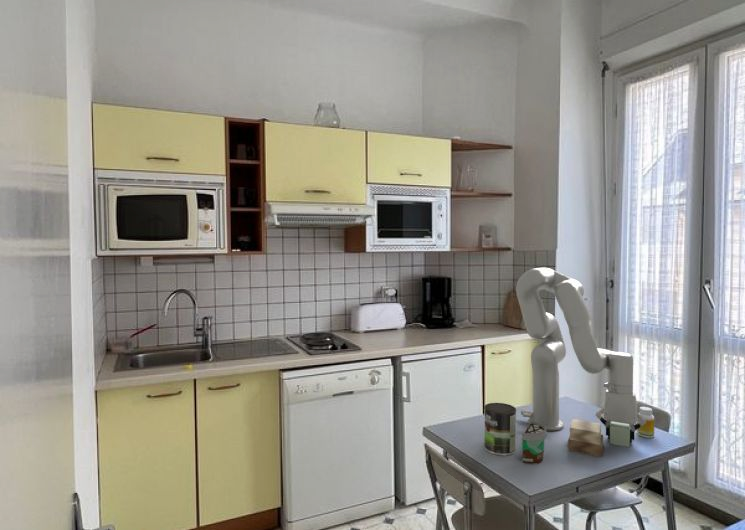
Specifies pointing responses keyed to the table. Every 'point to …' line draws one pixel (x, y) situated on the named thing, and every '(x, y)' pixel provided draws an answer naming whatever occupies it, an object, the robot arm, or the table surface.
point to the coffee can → (500, 429)
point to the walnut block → (586, 447)
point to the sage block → (620, 433)
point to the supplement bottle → (647, 428)
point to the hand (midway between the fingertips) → (619, 439)
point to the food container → (533, 443)
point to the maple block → (585, 431)
